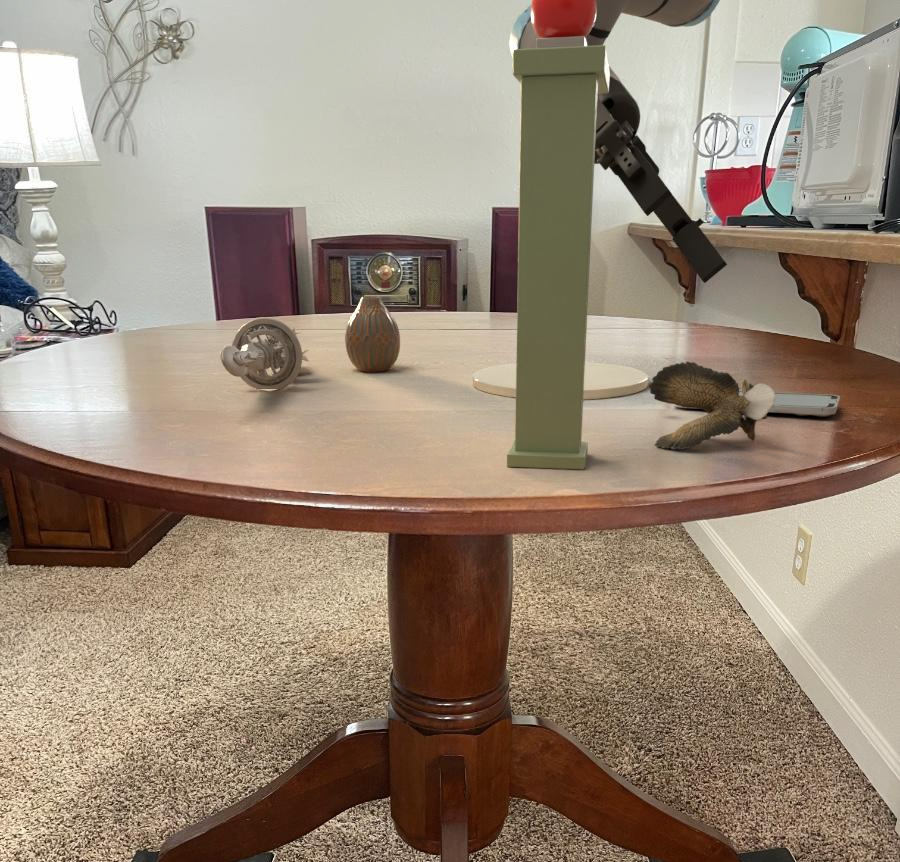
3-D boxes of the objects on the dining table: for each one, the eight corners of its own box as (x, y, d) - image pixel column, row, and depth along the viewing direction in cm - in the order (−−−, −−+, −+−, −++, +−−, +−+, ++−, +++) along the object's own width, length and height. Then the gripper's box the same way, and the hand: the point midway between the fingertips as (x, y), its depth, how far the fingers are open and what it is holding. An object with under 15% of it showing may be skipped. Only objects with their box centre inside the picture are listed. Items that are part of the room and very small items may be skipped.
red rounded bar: (551, 88, 77) (553, 24, 75) (602, 86, 76) (606, 21, 74) (526, 50, 59) (528, -35, 57) (593, 47, 58) (597, -39, 56)
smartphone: (687, 388, 94) (840, 394, 88) (686, 397, 94) (839, 404, 88) (672, 400, 88) (835, 408, 82) (671, 410, 88) (834, 418, 82)
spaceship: (167, 338, 81) (244, 303, 80) (254, 332, 115) (309, 307, 114) (207, 419, 84) (282, 386, 82) (281, 390, 117) (336, 366, 116)
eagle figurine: (722, 413, 80) (634, 401, 78) (766, 352, 75) (672, 336, 72) (748, 476, 76) (656, 465, 74) (797, 416, 71) (699, 402, 68)
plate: (660, 373, 108) (660, 365, 107) (630, 404, 90) (631, 394, 90) (502, 366, 114) (503, 358, 114) (447, 394, 97) (447, 385, 97)
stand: (524, 431, 80) (531, 74, 69) (591, 433, 79) (609, 71, 68) (506, 466, 69) (512, 47, 58) (584, 469, 68) (605, 43, 57)
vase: (380, 375, 109) (376, 300, 105) (335, 371, 112) (331, 298, 109) (411, 367, 114) (409, 295, 111) (368, 363, 117) (364, 294, 114)
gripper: (618, 198, 105) (704, 320, 96) (501, 64, 86) (594, 201, 76) (670, 149, 102) (765, 271, 92) (560, -1, 82) (666, 133, 73)
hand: (688, 240), depth 84 cm, fingers open, 13 cm apart
